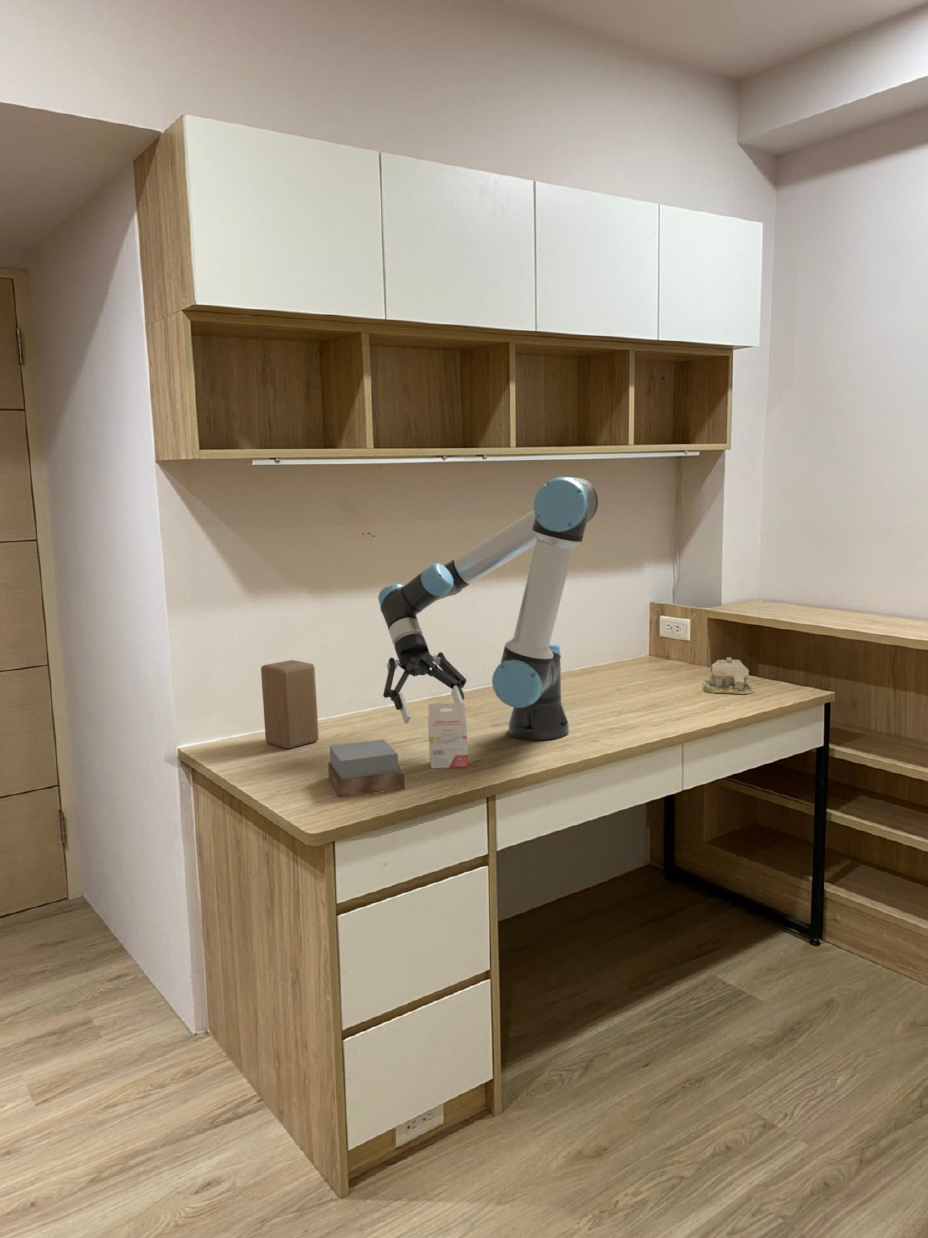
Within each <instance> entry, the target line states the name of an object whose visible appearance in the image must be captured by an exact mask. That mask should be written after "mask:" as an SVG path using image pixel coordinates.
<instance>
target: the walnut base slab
mask: <svg viewBox="0 0 928 1238" xmlns="http://www.w3.org/2000/svg"><path fill="white" fill-rule="evenodd" d="M327 764H328V765H327V767H328V769H327V770H328V778H329V780H330V783H331V785H332V787H333V790H334V792H335V793H336V797H337V798H343V797H344V796H345V797H351V796H350V795H353V796H358V795H359V796H360V795H368V794H367V793H369V794H374V793H373V792H378V793H382V792H381V791H386V792H390V791H389V790H394V791H400V790H401V789H402V790H405V789H406V782H405V772H404V771H403V769H402V768H401V766H399V764H398V772H396V773H388V774H381V775H374V776H366V777H359V778H351V779H344V780H342V779H341V778H340V776H339V775H338V774H337V772H336V771H335V769H334V768H333V766H332V765H331V761H328V762H327ZM402 790H401V791H402Z"/></svg>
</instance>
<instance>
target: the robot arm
mask: <svg viewBox="0 0 928 1238" xmlns="http://www.w3.org/2000/svg"><path fill="white" fill-rule="evenodd" d="M598 507H599V496H598V493H597V491H596V488H595V487H594V485H593V484H591V482H589V481H588V480H586V479H585V478H582V477H578V476H569V477H567V476H558V477H554V478H552V479H550V480H548V481H547V482H545V483H544V484H543V485H541V486H540V487H539V489H538V490H537V492H536V494H535V496H534V499H533V510H532V511H529V513H526V514H525V515H523V516H522V517H520V518H519V519H516V520H515V521H514V522H512V523H510V524H509V525H507V526H506V527H504V528H502V529H501V530H499V531H497V532H496V533H494V534H492V535H491V536H489V537H488V538H486V539H485V540H482V542H480V543H478V544H476V545H474V547H472V548H470V549H469V550H467V551H465V552H464V553H462V554H460V555H459V556H458V557H456V558H454V559H452V560H450V561H449V562H447V563H445V564H444V565H443V564H441V563H439V562H434V563H433V564H431V565H430V566H428V567H426V568H424V569H423V570H422V572H420V573H419V574H418V575H417V576H415V577H414V578H413V579H411V580H410V581H409V582H408V583H406V584H405V585H403V584H400V583H391V584H390V585H386V586H385V587H383V588H381V591H379V593H378V598H377V599H378V603H379V607H380V612H381V613H382V616H383V619H384V621H385V624H386V626H387V630H388V633H389V635H390V639H391V641H392V642H391V643H392V645H393V646H394V650H395V654H396V656H397V659H395V658H394V657H390V658H389V659H388V662H387V665H386V666H387V667H386V668H387V670H388V671H387V677H386V679H385V681H386V682H385V685H384V690H383V695H382V696H383V698H385V699H388V698H390V701H392V702H393V703H394V707H395V709H396V711H400V713H401V716H402V719H403V722H404V724H405V725H406V724H409V722H410V720H411V718H412V717H411V714H410V710H409V708H408V705H407V701H406V698H405V696H404V693H403V692H401V690H402V689H403V687H404V685H405V683H406V681H407V680H408V678H409V676H412V677H417V676H426V675H428V676H429V677H433V678H435V679H436V680H438V681H439V682H440V683H442V684H444V685H445V686H446V687H448V688H450V689H451V691H450V693H451V696H452V699H453V701H454V703H464V708H465V711H466V709H467V707H466V705H465V702H464V699H465V694H464V691H463V688H464V687H465V685H466V684H467V681H468V680H467V679H466V678H465V677H464V675H463V674H462V673H460V672H459V670H458V669H456V667H455V666H453V665H452V664H451V663H450V661H448V660H447V657H446V656H445V655H444V653H443V652H442V651H441V652H439V651H438V654H435V655H432V654H431V653H430V650H429V647H428V644H427V642H426V639H425V637H424V633H423V630H422V628H421V626H420V623H419V621H418V617H417V615H419V614H420V613H421V612H422V611H424V610H425V609H426V608H428V607H429V606H430V605H432V604H434V603H435V602H437V601H439V600H442V599H444V598H447V597H451V596H455V595H457V594H458V593H461V591H462V590H463V589H465V588H466V587H468V586H470V585H471V584H472V583H474V582H476V581H477V580H480V579H481V578H483V577H484V576H486V575H488V574H490V573H492V572H493V571H494V570H496V569H498V568H500V567H501V566H503V565H505V564H506V563H508V562H509V561H512V560H513V559H515V558H517V557H518V556H519V555H521V554H523V553H524V552H527V551H528V550H530V549H531V548H534V549H533V553H532V556H531V557H532V558H531V561H530V566H529V570H528V573H527V578H526V584H525V588H524V591H523V596H522V599H521V604H520V609H519V613H518V618H517V620H516V625H515V629H514V634H513V637H512V638H511V639H509V640H508V641H507V642H505V644H504V648H503V652H502V656H501V660H500V663H499V664H498V665H497V667H496V668H495V670H494V671H493V675H492V680H491V685H492V689H493V692H494V693H495V695H496V697H497V698H498V699H499V700H500V701H501V702H502V703H503V704H504V705H506V706H508V707H512V711H511V714H510V718H509V721H508V725H507V726H508V727H507V728H508V734H509V735H510V736H511V737H514V738H517V739H521V740H531V741H537V740H538V741H542V740H552V739H554V740H555V739H559V738H561V737H565V736H567V735H568V734H569V733H570V729H569V728H570V727H569V725H570V724H569V721H568V718H567V714H566V712H565V709H564V706H563V704H562V678H561V675H562V673H561V669H562V668H561V659H562V655H561V647H560V645H559V644H558V643H556V642H551V641H552V636H553V632H554V627H555V624H556V620H557V616H558V611H559V607H560V604H561V600H562V596H563V590H564V588H565V585H566V579H567V576H568V571H569V567H570V563H571V559H572V555H573V551H574V548H576V547H577V546H579V545H580V544H582V542H583V538H584V534H585V531H586V526H587V523H588V522H590V521H591V520H592V519H593V517H595V515H596V513H597V511H598ZM398 667H399V668H401V670H403V673H402V674H401V676H400V678H399V680H398V682H397V684H396V686H395V688H394V689H392V685H393V680H394V676H395V671H396V670H397V668H398Z"/></svg>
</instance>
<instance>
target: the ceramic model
mask: <svg viewBox="0 0 928 1238" xmlns="http://www.w3.org/2000/svg"><path fill="white" fill-rule="evenodd" d="M749 672H750V670H749V669H748V667H746V666H745V665H744V664H743V663H742V661H741V660H740V659H732V657H726V659H718V660H716V661H715V662H714V663H712V664H711V666H710V673H709V674H708V677H709V680H708V679H707V678H704V680H702V687H703V691H704V692H707V693H713V694H729V695H730V694H733V695H746V694H748V695H749V694H753V693H755V690H754V689H753V687H752V686H751V685H749V684H748V683H747V680H748V679H749V678H750V674H749Z"/></svg>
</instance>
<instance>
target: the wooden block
mask: <svg viewBox="0 0 928 1238" xmlns="http://www.w3.org/2000/svg"><path fill="white" fill-rule="evenodd" d="M260 667H261V668H260V674H261V675H260V677H261V688H262V689H261V690H262V691H261V692H262V703H263V705H262V706H263V716H264V717H263V718H264V735H265V741H266V743H268V744H269V745H274V746H276V747H280V748H283V749H287V750H289V749H293V748H297V747H301V746H304V745H308V743H309V744H313V743H316V742H318V741H319V738H320V737H319V723H318V722H319V719H318V703H317V687H316V672H315V670H316V669H315V665H314V663H310V662H304V661H299V660H295V659H290V660H284V661H280V662H279V661H278V662H273V663H267V664H264V665H262V666H260Z"/></svg>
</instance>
